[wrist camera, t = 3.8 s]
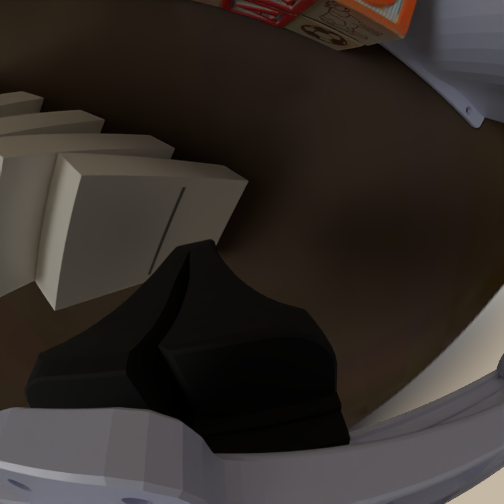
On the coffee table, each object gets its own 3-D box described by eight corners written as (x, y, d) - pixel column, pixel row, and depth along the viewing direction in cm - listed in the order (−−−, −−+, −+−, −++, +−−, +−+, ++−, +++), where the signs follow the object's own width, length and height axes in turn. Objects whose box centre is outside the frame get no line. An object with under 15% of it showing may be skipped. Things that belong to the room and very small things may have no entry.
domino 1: (249, 181, 15) (81, 175, 7) (208, 262, 17) (54, 311, 9) (223, 165, 16) (58, 152, 8) (186, 244, 17) (34, 280, 10)
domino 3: (105, 119, 13) (-44, 145, 5) (78, 206, 15) (-46, 287, 7) (80, 109, 13) (-68, 130, 5) (56, 194, 15) (-70, 264, 7)
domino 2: (175, 148, 14) (3, 158, 6) (141, 234, 16) (-7, 300, 8) (149, 135, 14) (-18, 138, 6) (118, 219, 16) (-28, 272, 8)
